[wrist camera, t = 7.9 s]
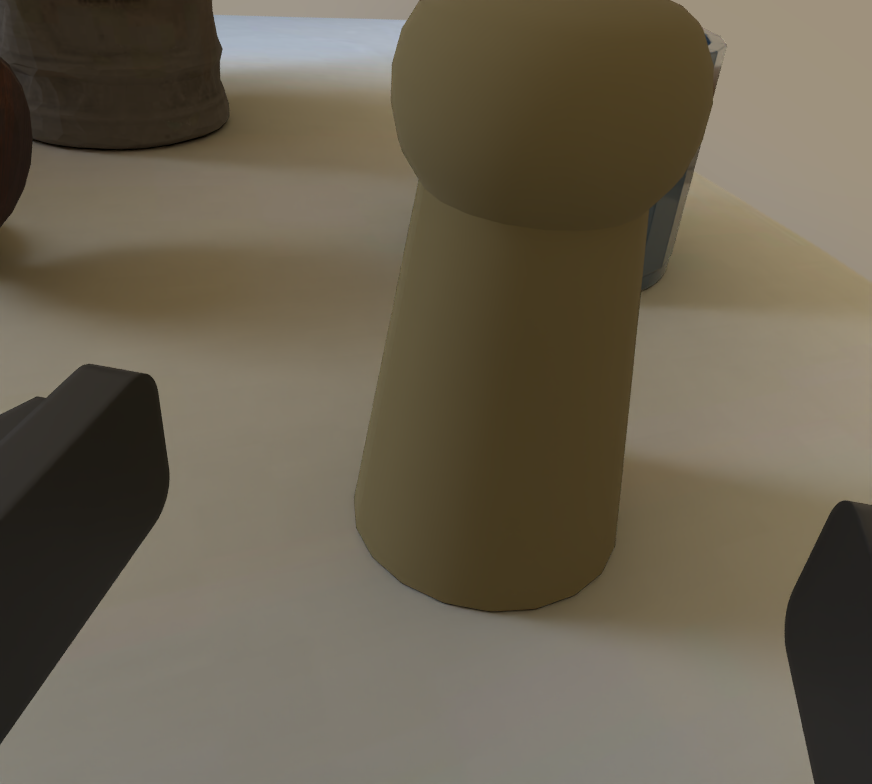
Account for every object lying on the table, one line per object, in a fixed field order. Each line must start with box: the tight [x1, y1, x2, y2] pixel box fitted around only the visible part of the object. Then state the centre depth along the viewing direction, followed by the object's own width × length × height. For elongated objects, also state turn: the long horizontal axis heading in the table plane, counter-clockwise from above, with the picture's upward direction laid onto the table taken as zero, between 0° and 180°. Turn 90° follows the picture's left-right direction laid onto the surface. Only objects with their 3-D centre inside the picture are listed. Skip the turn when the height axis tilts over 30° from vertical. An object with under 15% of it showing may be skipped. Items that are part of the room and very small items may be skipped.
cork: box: [354, 0, 714, 611], centre depth 15 cm, size 6×6×11 cm
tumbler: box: [641, 28, 727, 291], centre depth 29 cm, size 10×10×8 cm
